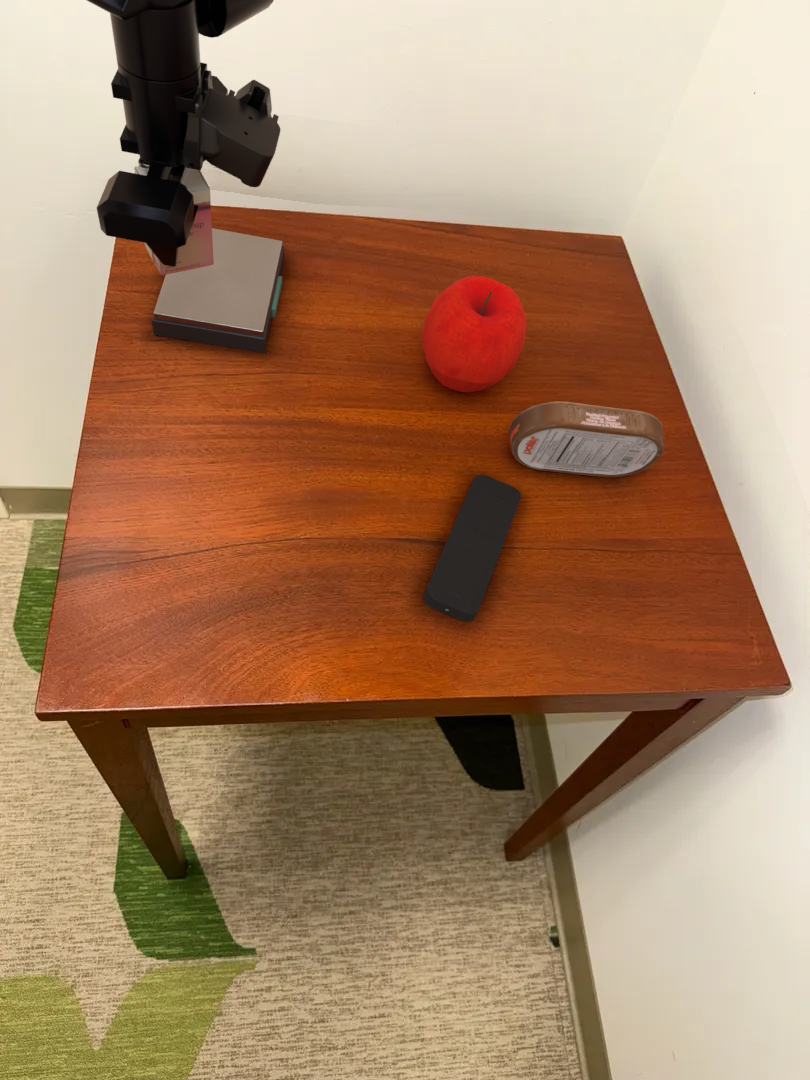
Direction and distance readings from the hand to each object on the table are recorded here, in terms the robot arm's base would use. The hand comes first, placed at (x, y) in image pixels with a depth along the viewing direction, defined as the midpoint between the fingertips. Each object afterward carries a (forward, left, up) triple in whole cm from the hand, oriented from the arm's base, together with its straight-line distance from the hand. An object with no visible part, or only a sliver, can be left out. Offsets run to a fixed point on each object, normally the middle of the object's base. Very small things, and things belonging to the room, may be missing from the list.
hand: (177, 241), depth 67 cm
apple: (+28, 0, -12) cm, 30 cm away
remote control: (+30, -20, -12) cm, 38 cm away
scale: (+2, +6, -11) cm, 13 cm away
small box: (0, 0, -2) cm, 2 cm away
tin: (+40, -9, -12) cm, 43 cm away
